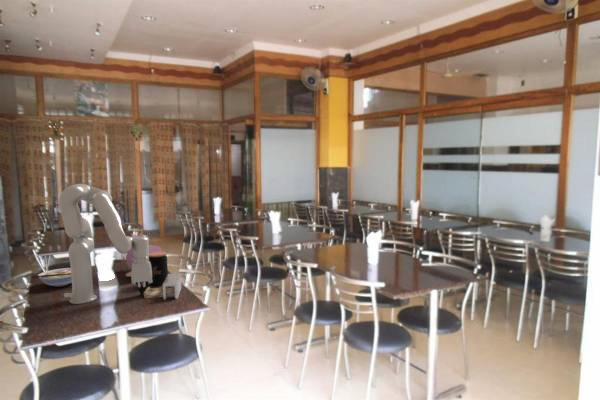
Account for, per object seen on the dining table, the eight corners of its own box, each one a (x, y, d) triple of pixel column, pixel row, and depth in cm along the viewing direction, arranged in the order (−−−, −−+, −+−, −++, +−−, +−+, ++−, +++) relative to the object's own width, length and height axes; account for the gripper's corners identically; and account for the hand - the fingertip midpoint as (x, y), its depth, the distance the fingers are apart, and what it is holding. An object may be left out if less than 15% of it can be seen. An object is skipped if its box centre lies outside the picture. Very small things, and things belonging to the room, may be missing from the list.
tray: (144, 298, 220) (143, 292, 219) (148, 292, 229) (147, 287, 229) (173, 296, 222) (173, 291, 221) (176, 290, 232) (176, 285, 231)
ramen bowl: (88, 277, 260) (87, 264, 259) (81, 288, 238) (80, 274, 237) (42, 282, 252) (41, 268, 251) (31, 293, 230) (30, 278, 230)
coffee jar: (144, 285, 242) (143, 254, 240) (157, 280, 252) (156, 251, 250) (159, 287, 238) (158, 256, 236) (172, 282, 248) (170, 252, 246)
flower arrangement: (123, 277, 277) (110, 236, 273) (158, 265, 289) (147, 226, 286) (133, 285, 247) (119, 239, 244) (172, 271, 259) (159, 227, 256)
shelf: (163, 299, 216) (162, 284, 216) (168, 288, 236) (168, 273, 235) (177, 298, 218) (176, 283, 217) (181, 287, 237) (181, 273, 236)
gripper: (125, 262, 217) (126, 296, 219) (155, 261, 220) (156, 295, 222) (128, 258, 225) (129, 292, 226) (157, 257, 227) (158, 290, 229)
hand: (142, 293), depth 224 cm, fingers closed
